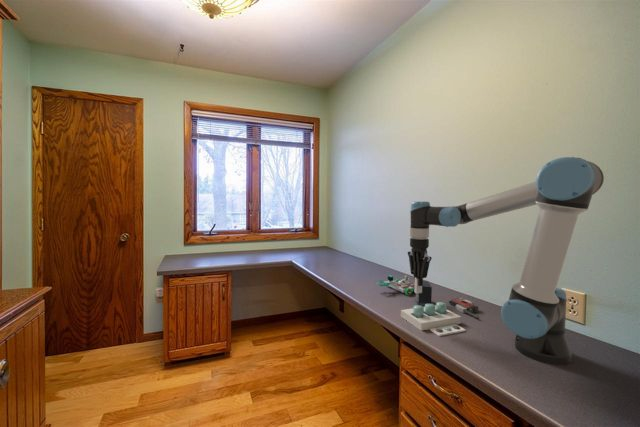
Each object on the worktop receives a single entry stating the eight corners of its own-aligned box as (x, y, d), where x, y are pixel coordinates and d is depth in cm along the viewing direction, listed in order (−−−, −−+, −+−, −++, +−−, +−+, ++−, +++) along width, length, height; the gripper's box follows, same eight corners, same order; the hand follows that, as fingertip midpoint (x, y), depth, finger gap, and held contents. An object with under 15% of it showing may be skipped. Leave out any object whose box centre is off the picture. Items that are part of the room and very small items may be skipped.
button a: (448, 313, 121) (448, 304, 121) (440, 315, 120) (440, 306, 119) (441, 310, 125) (441, 301, 125) (434, 311, 124) (434, 302, 123)
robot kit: (369, 289, 163) (369, 274, 162) (402, 284, 173) (402, 269, 173) (389, 300, 146) (389, 282, 145) (425, 293, 156) (425, 276, 156)
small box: (432, 308, 134) (432, 286, 133) (418, 307, 135) (418, 286, 135) (428, 300, 144) (428, 280, 144) (415, 299, 146) (415, 279, 145)
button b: (437, 315, 119) (437, 306, 119) (429, 316, 118) (429, 307, 118) (430, 311, 123) (430, 303, 123) (422, 313, 122) (422, 304, 122)
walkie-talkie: (444, 304, 140) (476, 321, 120) (445, 296, 139) (476, 311, 120) (459, 302, 142) (493, 318, 122) (459, 294, 142) (493, 309, 122)
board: (460, 323, 117) (461, 316, 117) (421, 330, 111) (421, 323, 111) (437, 311, 130) (437, 304, 130) (400, 316, 124) (400, 310, 124)
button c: (425, 317, 117) (425, 308, 117) (417, 318, 116) (417, 309, 116) (419, 313, 121) (419, 304, 121) (411, 314, 120) (411, 305, 120)
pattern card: (465, 331, 110) (465, 329, 110) (439, 336, 106) (439, 333, 106) (456, 325, 115) (456, 323, 115) (430, 330, 111) (430, 328, 111)
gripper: (437, 239, 112) (436, 296, 113) (417, 235, 124) (415, 287, 126) (422, 240, 110) (420, 298, 111) (402, 236, 122) (401, 288, 123)
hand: (418, 292), depth 118 cm, fingers closed
